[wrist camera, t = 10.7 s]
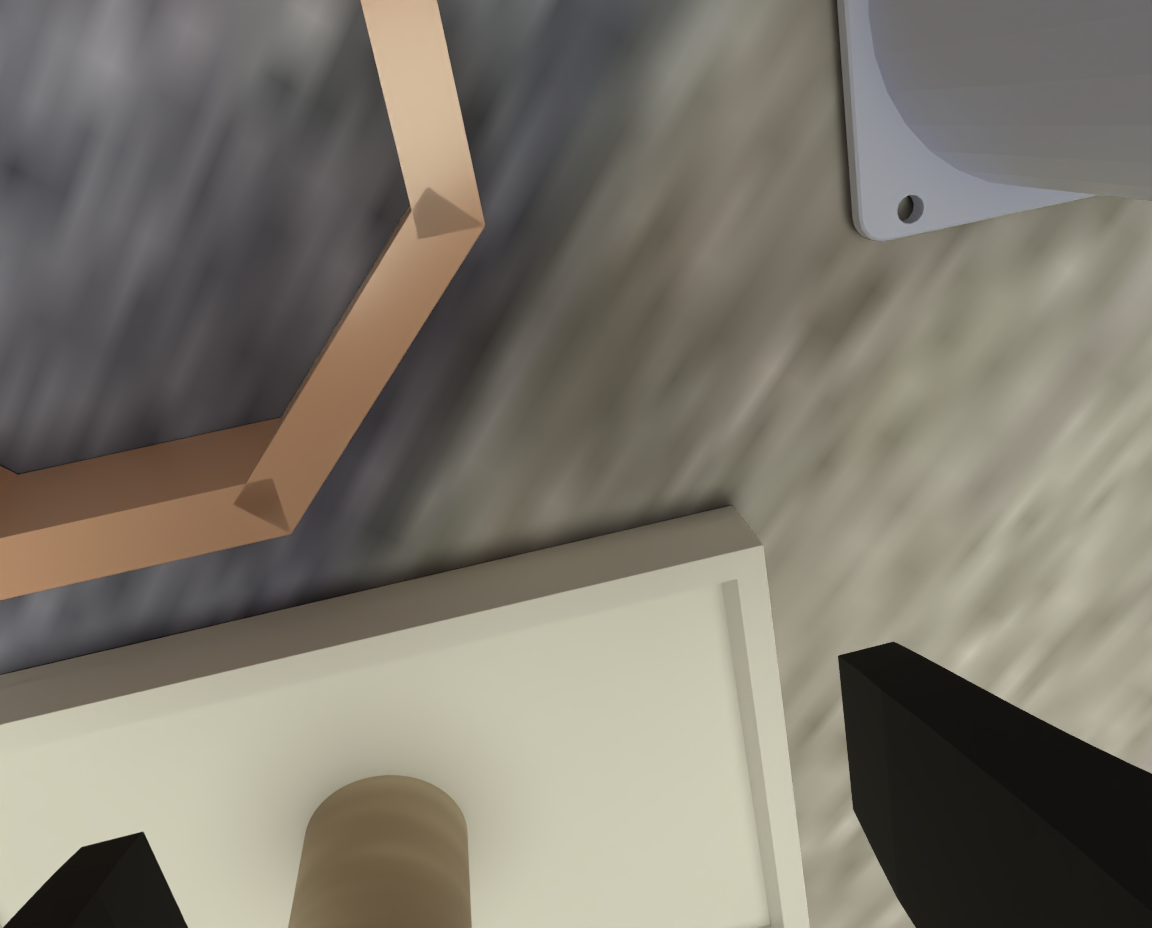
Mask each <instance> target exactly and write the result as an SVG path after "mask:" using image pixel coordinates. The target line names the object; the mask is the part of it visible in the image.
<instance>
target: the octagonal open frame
mask: <svg viewBox="0 0 1152 928" xmlns="http://www.w3.org/2000/svg"><path fill="white" fill-rule="evenodd" d="M361 4H362V8H363V12H364V16H365V21H366V25H367V29H368V33H369V37H370V41H371V45H372V49H373V53H374V58H375V62H376V66H377V70H378V74H379V78H380V82H381V86H382V90H383V95H384V99H385V103H386V107H387V111H388V115H389V119H390V123H391V128H392V132H393V136H394V140H395V144H396V148H397V152H398V156H399V160H400V165H401V169H402V173H403V177H404V181H405V185H406V189H407V193H408V197H409V202H410V205H409V207H408V208H407V210H406V212H405V213H404V215H403V217H402V218H401V220H400V222H399V223H398V225H397V226H396V228H395V230H394V231H393V233H392V235H391V236H390V238H389V240H388V241H387V243H386V245H385V246H384V248H383V250H382V251H381V253H380V255H379V256H378V258H377V259H376V261H375V263H374V264H373V266H372V268H371V269H370V271H369V273H368V274H367V276H366V278H365V279H364V281H363V283H362V284H361V286H360V287H359V289H358V291H357V292H356V294H355V296H354V297H353V299H352V301H351V302H350V304H349V306H348V307H347V309H346V311H345V312H344V314H343V316H342V317H341V319H340V320H339V322H338V324H337V325H336V327H335V329H334V330H333V332H332V334H331V335H330V337H329V339H328V340H327V342H326V344H325V345H324V347H323V349H322V350H321V352H320V353H319V355H318V357H317V358H316V360H315V362H314V363H313V365H312V367H311V368H310V370H309V372H308V373H307V375H306V377H305V378H304V380H303V381H302V383H301V385H300V386H299V388H298V390H297V391H296V393H295V395H294V396H293V398H292V400H291V401H290V403H289V405H288V406H287V408H286V410H285V411H284V413H283V414H282V416H281V417H280V418H276V419H271V420H266V421H262V422H257V423H253V424H248V425H244V426H239V427H234V428H230V429H225V430H221V431H216V432H211V433H207V434H202V435H198V436H193V437H188V438H184V439H179V440H175V441H170V442H165V443H161V444H156V445H152V446H147V447H143V448H138V449H133V450H129V451H124V452H120V453H115V454H110V455H106V456H101V457H97V458H92V459H87V460H83V461H78V462H74V463H69V464H64V465H60V466H55V467H51V468H46V469H42V470H37V471H32V472H28V473H23V474H19V475H18V474H16V473H14V472H12V471H10V470H8V469H5V468H3V467H1V466H0V600H3V599H7V598H12V597H16V596H21V595H25V594H29V593H34V592H38V591H43V590H47V589H51V588H56V587H60V586H65V585H69V584H73V583H78V582H82V581H87V580H91V579H96V578H100V577H104V576H109V575H113V574H118V573H122V572H126V571H131V570H135V569H140V568H144V567H148V566H153V565H157V564H162V563H166V562H171V561H175V560H179V559H184V558H188V557H193V556H197V555H201V554H206V553H210V552H215V551H219V550H224V549H228V548H232V547H237V546H241V545H246V544H250V543H254V542H259V541H263V540H268V539H272V538H276V537H281V536H285V535H290V534H291V533H292V532H293V530H294V529H295V527H296V525H297V524H298V522H299V521H300V519H301V518H302V516H303V514H304V513H305V511H306V510H307V508H308V506H309V505H310V503H311V502H312V500H313V498H314V497H315V495H316V494H317V492H318V491H319V489H320V487H321V486H322V484H323V483H324V481H325V479H326V478H327V476H328V475H329V473H330V471H331V470H332V468H333V467H334V465H335V464H336V462H337V460H338V459H339V457H340V456H341V454H342V452H343V451H344V449H345V448H346V446H347V445H348V443H349V441H350V440H351V438H352V437H353V435H354V433H355V432H356V430H357V429H358V427H359V425H360V424H361V422H362V421H363V419H364V418H365V416H366V414H367V413H368V411H369V410H370V408H371V406H372V405H373V403H374V402H375V400H376V398H377V397H378V395H379V394H380V392H381V391H382V389H383V387H384V386H385V384H386V383H387V381H388V379H389V378H390V376H391V375H392V373H393V372H394V370H395V368H396V367H397V365H398V364H399V362H400V360H401V359H402V357H403V356H404V354H405V352H406V351H407V349H408V348H409V346H410V345H411V343H412V341H413V340H414V338H415V337H416V335H417V333H418V332H419V330H420V329H421V327H422V325H423V324H424V322H425V321H426V319H427V318H428V316H429V314H430V313H431V311H432V310H433V308H434V306H435V305H436V303H437V302H438V300H439V299H440V297H441V295H442V294H443V292H444V291H445V289H446V287H447V286H448V284H449V283H450V281H451V279H452V278H453V276H454V275H455V273H456V272H457V270H458V268H459V267H460V265H461V264H462V262H463V260H464V259H465V257H466V256H467V254H468V252H469V251H470V249H471V248H472V246H473V245H474V243H475V241H476V240H477V238H478V237H479V235H480V233H481V232H482V230H483V229H484V227H485V221H484V217H483V212H482V207H481V203H480V198H479V193H478V189H477V184H476V180H475V175H474V170H473V166H472V161H471V156H470V152H469V147H468V142H467V138H466V133H465V128H464V124H463V119H462V115H461V110H460V105H459V101H458V96H457V91H456V87H455V82H454V77H453V73H452V68H451V64H450V59H449V54H448V50H447V45H446V40H445V36H444V31H443V26H442V22H441V17H440V12H439V8H438V3H437V0H361Z"/></svg>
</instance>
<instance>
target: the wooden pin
mask: <svg viewBox="0 0 1152 928" xmlns="http://www.w3.org/2000/svg"><path fill="white" fill-rule="evenodd" d="M288 928H472V921H471V899H470V877H469V855H468V833H467V826H466V821H465V819H464V816H463V813H462V812H461V810H460V808H459V807H458V805H457V804H456V803H455V801H454V800H453V799H452V798H451V797H450V796H449V795H448V794H447V793H445V792H444V791H442V790H441V789H440V788H438V787H436V786H434V785H432V784H430V783H428V782H425V781H423V780H420V779H416V778H412V777H407V776H400V775H384V776H375V777H369V778H365V779H362V780H358V781H355V782H353V783H350V784H348V785H346V786H344V787H342V788H340V789H339V790H337V791H335V792H334V793H333V794H331V795H330V796H329V797H327V798H326V799H325V800H324V801H323V802H322V803H321V804H320V805H319V807H318V808H317V809H316V810H315V812H314V814H313V815H312V817H311V819H310V821H309V823H308V826H307V829H306V833H305V838H304V843H303V849H302V854H301V860H300V865H299V871H298V876H297V881H296V887H295V892H294V898H293V903H292V909H291V914H290V920H289V925H288Z"/></svg>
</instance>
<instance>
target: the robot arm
mask: <svg viewBox="0 0 1152 928" xmlns="http://www.w3.org/2000/svg"><path fill="white" fill-rule="evenodd" d="M837 6H838V20H839V34H840V48H841V63H842V77H843V91H844V105H845V119H846V133H847V147H848V162H849V176H850V190H851V204H852V218H853V222H854V226H855V228H856V230H857V231H858V232H859V233H860V235H862V236H864V237H866V238H868V239H871V240H874V241H888V240H893V239H897V238H902V237H907V236H911V235H916V234H921V233H925V232H930V231H935V230H939V229H944V228H949V227H953V226H958V225H963V224H967V223H972V222H977V221H981V220H986V219H991V218H995V217H1000V216H1005V215H1009V214H1014V213H1019V212H1023V211H1028V210H1033V209H1037V208H1042V207H1047V206H1051V205H1056V204H1061V203H1065V202H1070V201H1075V200H1079V199H1084V198H1089V197H1093V196H1098V195H1103V196H1112V197H1121V198H1131V199H1140V200H1149V201H1152V0H837ZM907 196H910V197H911V198H912V200H913V203H914V208H913V212H912V214H911V215H910V216H909V218H908V219H906V220H904V221H901V220H900V219H899V216H898V213H897V210H898V205H899V203H900V202H901V201H902V199H903V198H905V197H907ZM838 660H839V670H840V680H841V690H842V701H843V711H844V721H845V731H846V741H847V751H848V761H849V771H850V781H851V792H852V802H853V810H854V812H855V814H856V816H857V818H858V820H859V822H860V824H861V826H862V828H863V830H864V832H865V834H866V837H867V839H868V841H869V843H870V845H871V847H872V849H873V851H874V853H875V855H876V857H877V859H878V861H879V863H880V865H881V867H882V869H883V871H884V873H885V875H886V877H887V879H888V881H889V883H890V885H891V887H892V889H893V890H894V892H895V894H896V896H897V898H898V900H899V902H900V903H901V905H902V906H903V908H904V910H905V911H906V913H907V914H908V916H909V917H910V919H911V921H912V922H913V924H914V925H915V927H916V928H1152V774H1151V773H1149V772H1147V771H1145V770H1142V769H1140V768H1138V767H1136V766H1134V765H1131V764H1129V763H1127V762H1125V761H1123V760H1121V759H1119V758H1117V757H1115V756H1113V755H1111V754H1109V753H1107V752H1104V751H1102V750H1100V749H1098V748H1096V747H1094V746H1092V745H1090V744H1088V743H1086V742H1084V741H1082V740H1080V739H1078V738H1076V737H1074V736H1072V735H1070V734H1068V733H1066V732H1064V731H1062V730H1060V729H1058V728H1056V727H1054V726H1052V725H1050V724H1048V723H1047V722H1045V721H1043V720H1041V719H1039V718H1037V717H1035V716H1033V715H1031V714H1029V713H1027V712H1025V711H1023V710H1022V709H1020V708H1018V707H1016V706H1014V705H1012V704H1010V703H1008V702H1006V701H1004V700H1003V699H1001V698H999V697H997V696H995V695H993V694H991V693H990V692H988V691H986V690H984V689H982V688H980V687H978V686H977V685H975V684H973V683H971V682H969V681H967V680H965V679H964V678H962V677H960V676H958V675H956V674H954V673H953V672H951V671H949V670H947V669H945V668H943V667H941V666H940V665H938V664H936V663H934V662H932V661H930V660H928V659H927V658H925V657H923V656H921V655H919V654H917V653H915V652H913V651H911V650H909V649H907V648H905V647H903V646H901V645H899V644H897V643H895V642H890V643H886V644H883V645H879V646H875V647H871V648H867V649H863V650H859V651H855V652H851V653H847V654H843V655H839V656H838ZM3 928H188V926H187V924H186V922H185V920H184V918H183V915H182V913H181V911H180V909H179V907H178V905H177V903H176V900H175V898H174V896H173V894H172V892H171V890H170V888H169V885H168V883H167V881H166V879H165V877H164V875H163V872H162V870H161V868H160V866H159V864H158V862H157V860H156V857H155V855H154V853H153V851H152V849H151V847H150V844H149V842H148V840H147V838H146V836H145V834H144V832H139V833H135V834H131V835H127V836H123V837H119V838H115V839H111V840H107V841H103V842H99V843H95V844H91V845H87V846H83V847H81V848H80V849H79V850H78V851H77V852H76V853H75V854H74V855H73V856H72V857H70V858H69V859H68V860H67V861H66V862H65V863H64V864H63V865H62V866H61V867H60V868H59V869H58V870H57V871H56V872H55V873H54V874H53V875H52V876H51V877H50V878H49V879H48V880H47V881H46V882H45V883H44V884H43V885H42V887H41V888H40V889H39V890H38V891H37V892H36V893H35V894H34V895H33V896H32V897H31V898H30V899H29V900H28V901H27V902H26V903H25V904H24V905H23V907H22V908H21V909H20V910H19V911H18V912H17V913H16V914H15V915H14V916H13V917H12V918H11V919H10V920H9V921H8V923H7V924H6V925H5V926H4V927H3Z"/></svg>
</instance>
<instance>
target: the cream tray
mask: <svg viewBox="0 0 1152 928" xmlns="http://www.w3.org/2000/svg"><path fill="white" fill-rule="evenodd" d="M384 775H400V776H407V777H412V778H416V779H420V780H423V781H425V782H428V783H430V784H432V785H434V786H436V787H438V788H440V789H441V790H442V791H444V792H445V793H447V794H448V795H449V796H450V797H451V798H452V799H453V800H454V801H455V803H456V804H457V805H458V807H459V808H460V810H461V812H462V813H463V816H464V819H465V821H466V826H467V833H468V855H469V877H470V899H471V921H472V928H810V926H809V918H808V909H807V901H806V893H805V885H804V876H803V868H802V860H801V852H800V843H799V835H798V827H797V819H796V810H795V802H794V794H793V786H792V777H791V769H790V761H789V753H788V744H787V736H786V728H785V720H784V712H783V703H782V695H781V687H780V679H779V670H778V662H777V654H776V646H775V637H774V629H773V621H772V613H771V604H770V596H769V588H768V580H767V571H766V563H765V555H764V547H763V544H762V543H761V541H760V540H759V539H758V538H757V536H756V535H755V534H754V532H753V531H752V530H751V529H750V527H749V526H748V525H747V523H746V522H745V521H744V520H743V518H742V517H741V516H740V514H739V513H738V512H737V511H736V509H735V508H734V507H733V505H732V506H727V507H723V508H719V509H714V510H710V511H706V512H701V513H697V514H693V515H688V516H684V517H680V518H675V519H671V520H667V521H663V522H658V523H654V524H650V525H645V526H641V527H637V528H632V529H628V530H624V531H619V532H615V533H611V534H607V535H602V536H598V537H594V538H589V539H585V540H581V541H576V542H572V543H568V544H563V545H559V546H555V547H551V548H546V549H542V550H538V551H533V552H529V553H525V554H520V555H516V556H512V557H507V558H503V559H499V560H494V561H490V562H486V563H482V564H477V565H473V566H469V567H464V568H460V569H456V570H451V571H447V572H443V573H438V574H434V575H430V576H426V577H421V578H417V579H413V580H408V581H404V582H400V583H395V584H391V585H387V586H382V587H378V588H374V589H369V590H365V591H361V592H357V593H352V594H348V595H344V596H339V597H335V598H331V599H326V600H322V601H318V602H313V603H309V604H305V605H301V606H296V607H292V608H288V609H283V610H279V611H275V612H270V613H266V614H262V615H257V616H253V617H249V618H245V619H240V620H236V621H232V622H227V623H223V624H219V625H214V626H210V627H206V628H201V629H197V630H193V631H188V632H184V633H180V634H176V635H171V636H167V637H163V638H158V639H154V640H150V641H145V642H141V643H137V644H132V645H128V646H124V647H120V648H115V649H111V650H107V651H102V652H98V653H94V654H89V655H85V656H81V657H76V658H72V659H68V660H63V661H59V662H55V663H51V664H46V665H42V666H38V667H33V668H29V669H25V670H20V671H16V672H12V673H7V674H3V675H0V928H3V927H4V926H5V925H6V924H7V923H8V921H9V920H10V919H11V918H12V917H13V916H14V915H15V914H16V913H17V912H18V911H19V910H20V909H21V908H22V907H23V905H24V904H25V903H26V902H27V901H28V900H29V899H30V898H31V897H32V896H33V895H34V894H35V893H36V892H37V891H38V890H39V889H40V888H41V887H42V885H43V884H44V883H45V882H46V881H47V880H48V879H49V878H50V877H51V876H52V875H53V874H54V873H55V872H56V871H57V870H58V869H59V868H60V867H61V866H62V865H63V864H64V863H65V862H66V861H67V860H68V859H69V858H70V857H72V856H73V855H74V854H75V853H76V852H77V851H78V850H79V849H80V848H81V847H83V846H87V845H91V844H95V843H99V842H103V841H107V840H111V839H115V838H119V837H123V836H127V835H131V834H135V833H139V832H144V834H145V836H146V838H147V840H148V842H149V844H150V847H151V849H152V851H153V853H154V855H155V857H156V860H157V862H158V864H159V866H160V868H161V870H162V872H163V875H164V877H165V879H166V881H167V883H168V885H169V888H170V890H171V892H172V894H173V896H174V898H175V900H176V903H177V905H178V907H179V909H180V911H181V913H182V915H183V918H184V920H185V922H186V924H187V926H188V928H288V925H289V920H290V914H291V909H292V903H293V898H294V892H295V887H296V881H297V876H298V871H299V865H300V860H301V854H302V849H303V843H304V838H305V833H306V829H307V826H308V823H309V821H310V819H311V817H312V815H313V814H314V812H315V810H316V809H317V808H318V807H319V805H320V804H321V803H322V802H323V801H324V800H325V799H326V798H327V797H329V796H330V795H331V794H333V793H334V792H335V791H337V790H339V789H340V788H342V787H344V786H346V785H348V784H350V783H353V782H355V781H358V780H362V779H365V778H369V777H375V776H384Z"/></svg>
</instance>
